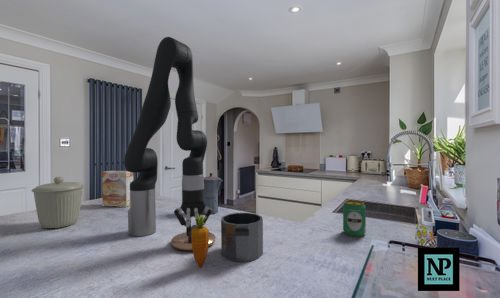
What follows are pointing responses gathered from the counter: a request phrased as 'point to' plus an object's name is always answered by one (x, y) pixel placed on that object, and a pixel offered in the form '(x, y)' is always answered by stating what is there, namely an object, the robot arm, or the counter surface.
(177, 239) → the lid
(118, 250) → the counter surface
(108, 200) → the coffeecake box
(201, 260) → the carrot
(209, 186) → the moka pot
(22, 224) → the counter surface
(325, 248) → the counter surface
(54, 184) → the canister
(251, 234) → the cooking pot
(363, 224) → the beverage can
